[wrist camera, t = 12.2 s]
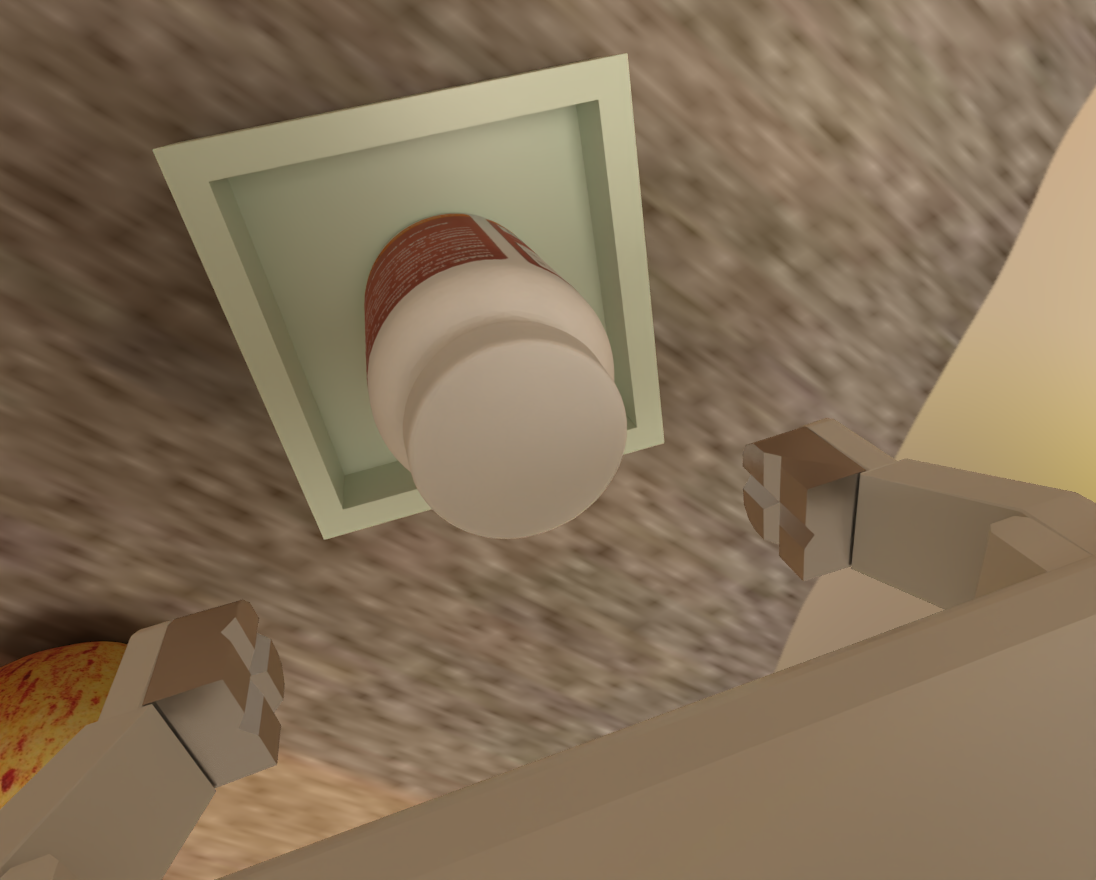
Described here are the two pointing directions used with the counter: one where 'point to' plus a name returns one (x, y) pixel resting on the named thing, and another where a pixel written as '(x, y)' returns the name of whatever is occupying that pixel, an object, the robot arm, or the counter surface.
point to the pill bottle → (490, 378)
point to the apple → (50, 705)
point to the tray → (384, 210)
